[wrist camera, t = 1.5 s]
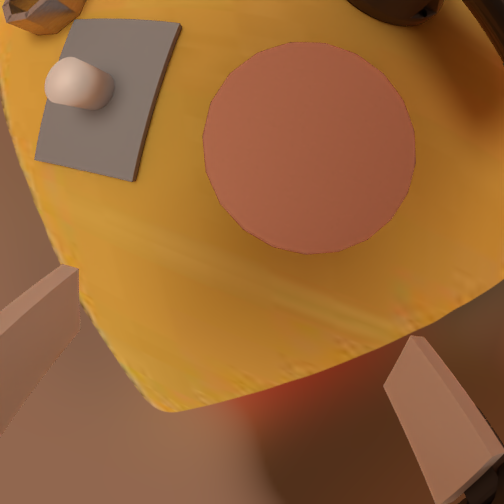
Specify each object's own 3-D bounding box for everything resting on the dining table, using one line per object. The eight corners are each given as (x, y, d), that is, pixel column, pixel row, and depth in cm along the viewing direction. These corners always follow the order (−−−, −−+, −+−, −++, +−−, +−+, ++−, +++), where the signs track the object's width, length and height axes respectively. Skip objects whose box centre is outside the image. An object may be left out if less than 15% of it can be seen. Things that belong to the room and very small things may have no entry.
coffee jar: (208, 133, 30) (159, 111, 13) (296, 82, 28) (348, 12, 11) (262, 219, 33) (277, 293, 16) (347, 169, 31) (444, 191, 14)
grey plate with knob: (78, 22, 25) (44, 0, 17) (181, 27, 26) (163, -5, 18) (39, 159, 30) (-3, 165, 22) (135, 180, 31) (103, 190, 23)
